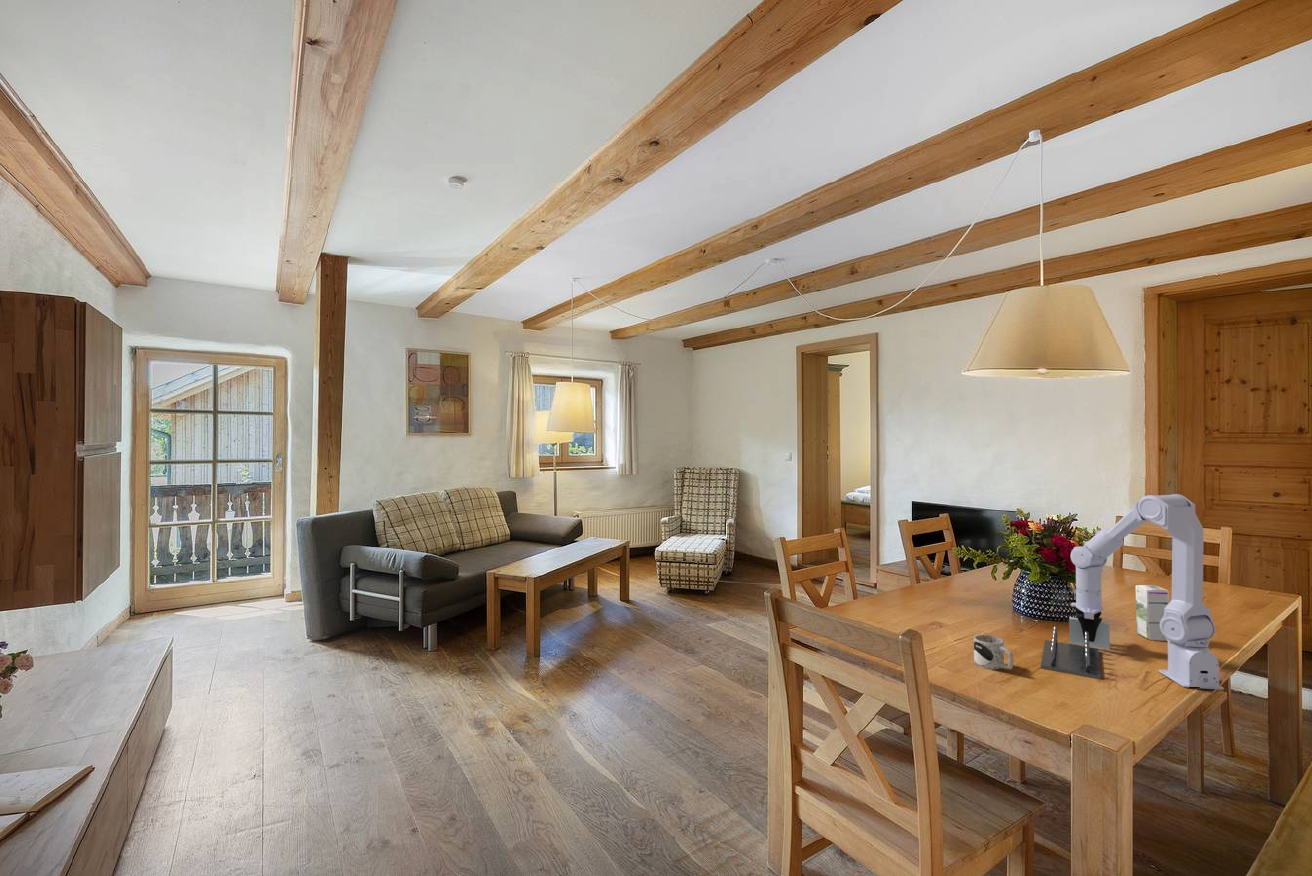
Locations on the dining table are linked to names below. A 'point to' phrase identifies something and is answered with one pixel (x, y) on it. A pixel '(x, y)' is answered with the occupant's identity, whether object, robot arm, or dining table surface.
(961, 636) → the dining table surface
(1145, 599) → the syrup box
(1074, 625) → the plate
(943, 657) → the dining table surface
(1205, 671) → the robot arm
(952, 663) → the dining table surface
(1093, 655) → the rack
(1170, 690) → the dining table surface
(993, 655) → the mug
